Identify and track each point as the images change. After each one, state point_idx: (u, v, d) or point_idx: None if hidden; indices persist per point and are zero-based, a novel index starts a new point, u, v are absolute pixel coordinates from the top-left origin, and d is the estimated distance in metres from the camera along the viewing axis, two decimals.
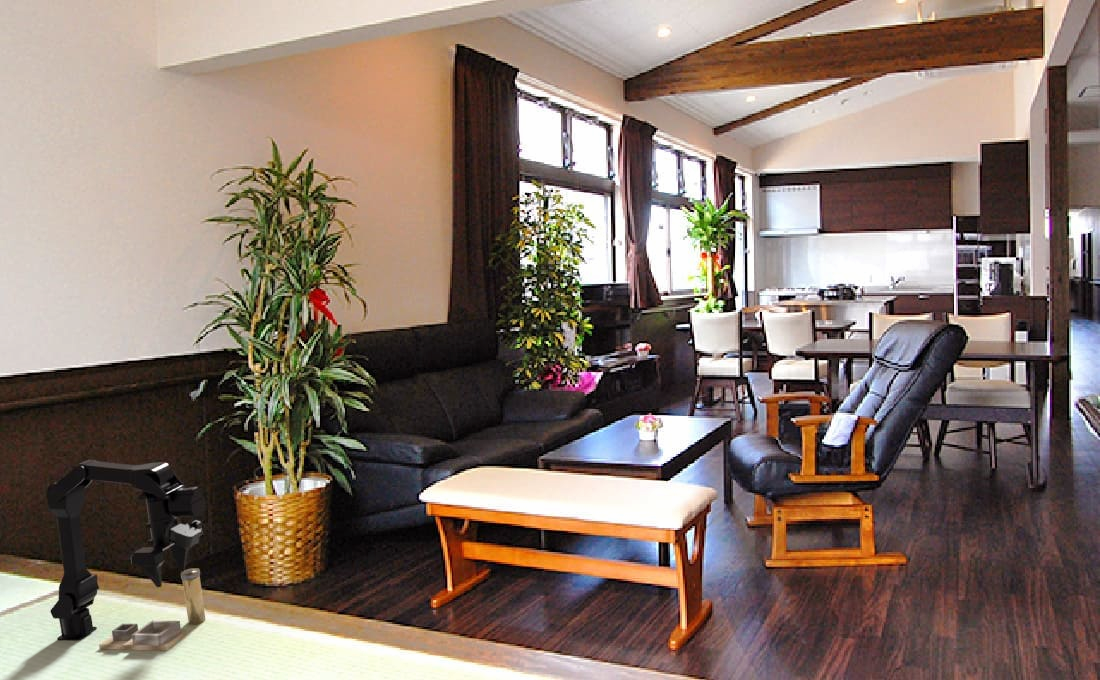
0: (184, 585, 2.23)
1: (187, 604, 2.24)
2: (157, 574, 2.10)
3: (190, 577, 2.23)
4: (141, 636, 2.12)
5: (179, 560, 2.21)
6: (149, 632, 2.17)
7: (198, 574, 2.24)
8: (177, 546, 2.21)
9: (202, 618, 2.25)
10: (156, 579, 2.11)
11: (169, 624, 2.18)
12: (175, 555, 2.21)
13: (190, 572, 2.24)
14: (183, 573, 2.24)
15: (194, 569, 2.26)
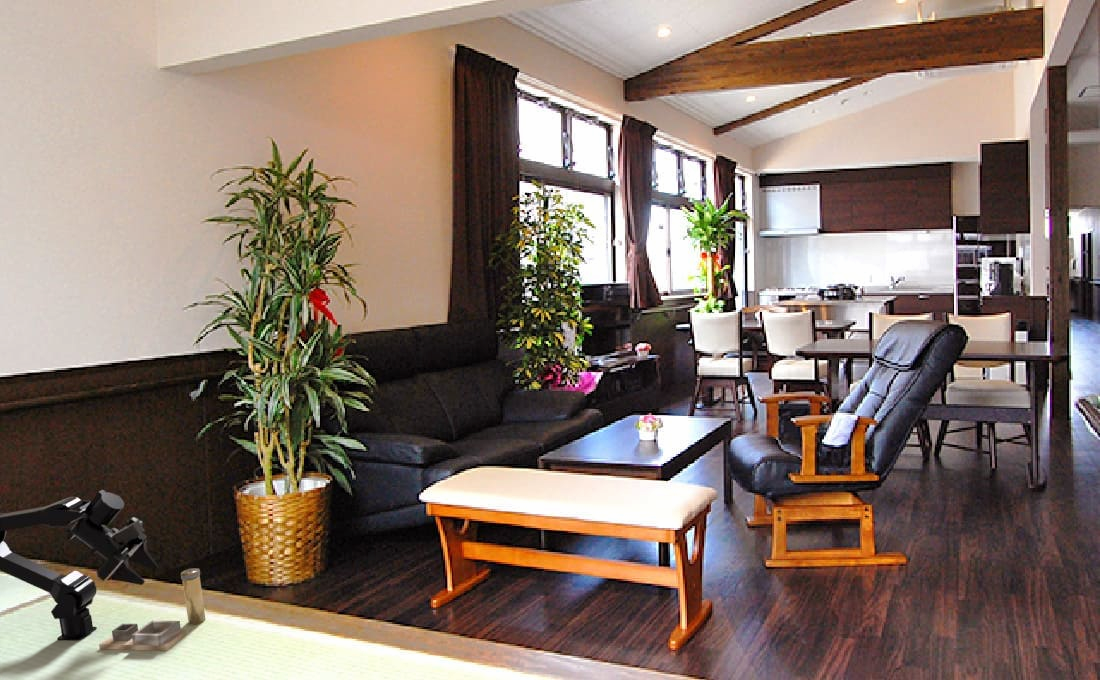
0: (184, 585, 2.23)
1: (187, 604, 2.24)
2: (132, 573, 2.17)
3: (190, 577, 2.23)
4: (141, 636, 2.12)
5: (147, 562, 2.27)
6: (149, 632, 2.17)
7: (198, 574, 2.24)
8: (135, 554, 2.27)
9: (202, 618, 2.25)
10: (135, 578, 2.17)
11: (169, 624, 2.18)
12: (140, 562, 2.27)
13: (190, 572, 2.24)
14: (183, 573, 2.24)
15: (194, 569, 2.26)
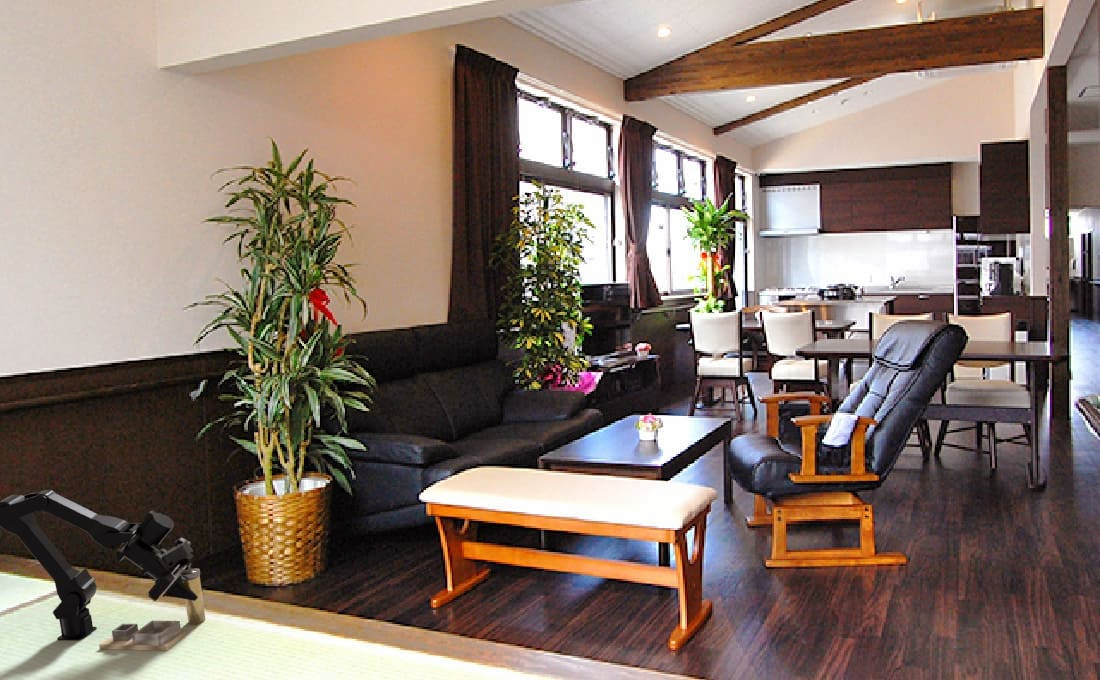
0: None
1: (187, 604, 2.24)
2: (185, 589, 2.22)
3: (190, 577, 2.23)
4: (141, 636, 2.12)
5: None
6: (149, 632, 2.17)
7: (198, 574, 2.24)
8: None
9: (202, 618, 2.25)
10: (188, 594, 2.22)
11: (169, 624, 2.18)
12: None
13: (190, 572, 2.24)
14: (183, 573, 2.24)
15: (194, 569, 2.26)
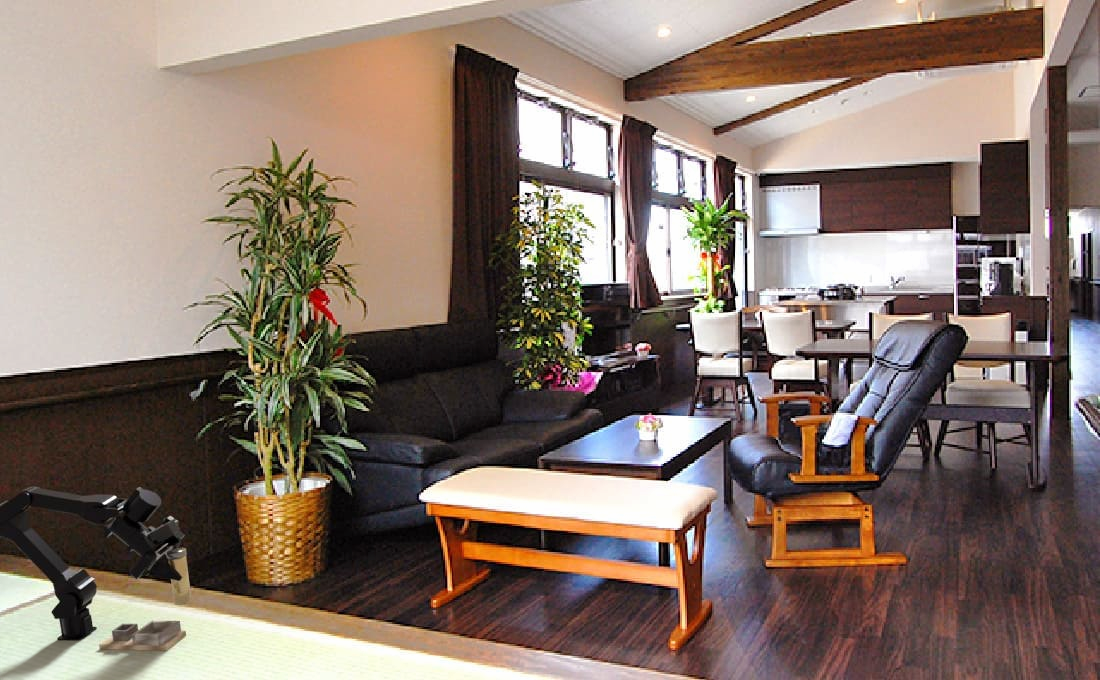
0: None
1: (172, 584, 2.20)
2: (169, 569, 2.17)
3: (175, 556, 2.18)
4: (141, 636, 2.12)
5: None
6: (149, 632, 2.17)
7: (184, 554, 2.20)
8: None
9: (187, 599, 2.21)
10: (172, 573, 2.18)
11: (169, 624, 2.18)
12: None
13: (176, 551, 2.20)
14: (169, 552, 2.20)
15: (181, 548, 2.22)
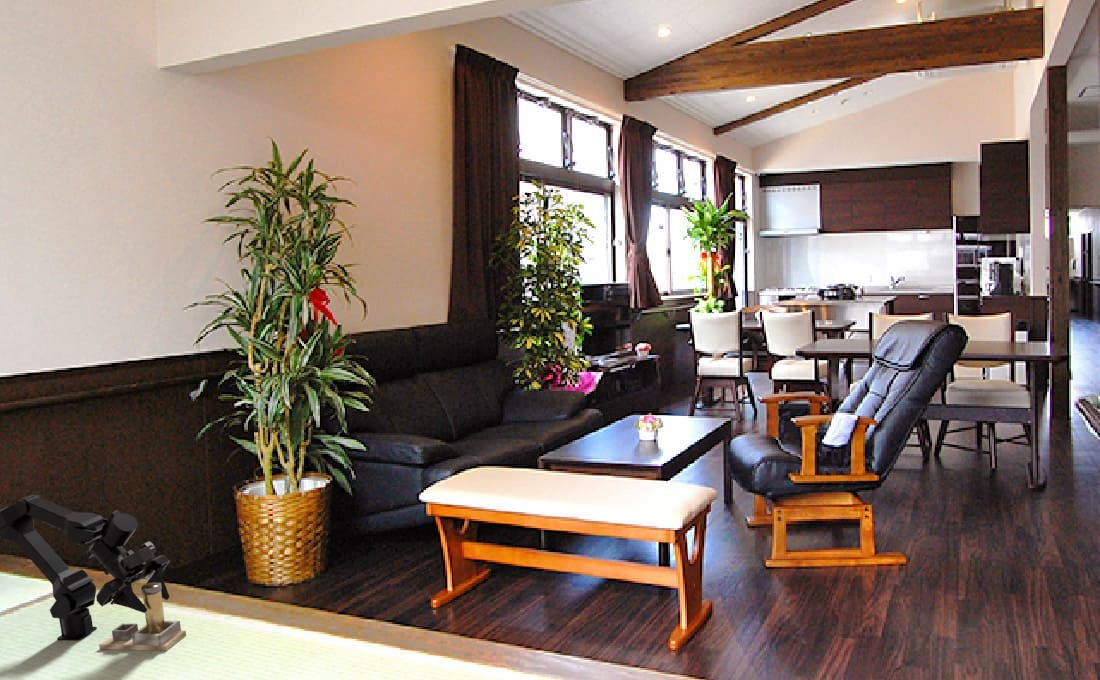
0: (143, 599, 2.13)
1: None
2: (133, 600, 2.10)
3: (147, 592, 2.12)
4: (141, 636, 2.12)
5: None
6: None
7: (156, 590, 2.13)
8: (151, 581, 2.19)
9: None
10: (137, 605, 2.10)
11: (169, 624, 2.18)
12: None
13: (150, 587, 2.13)
14: (144, 586, 2.13)
15: (158, 583, 2.15)
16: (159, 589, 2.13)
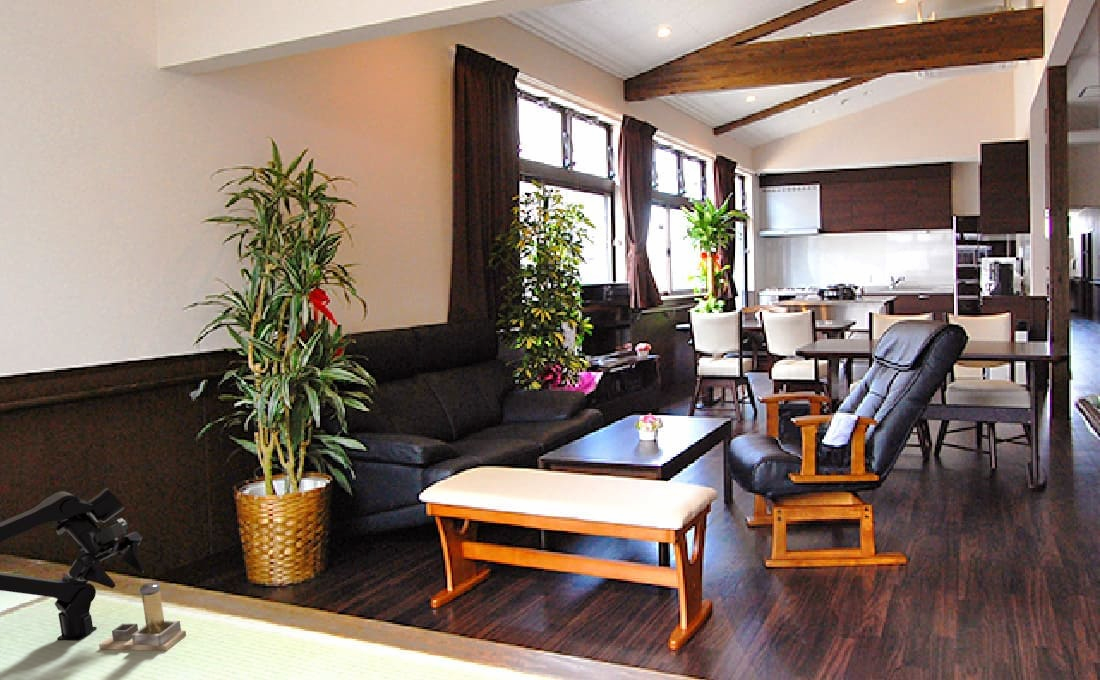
0: (142, 599, 2.13)
1: (145, 619, 2.14)
2: (102, 575, 2.16)
3: (145, 592, 2.12)
4: (141, 636, 2.12)
5: (135, 564, 2.26)
6: None
7: (155, 590, 2.13)
8: (127, 555, 2.27)
9: None
10: (105, 580, 2.16)
11: (169, 624, 2.18)
12: (130, 563, 2.27)
13: (149, 587, 2.13)
14: (142, 586, 2.14)
15: (157, 583, 2.15)
16: (158, 589, 2.13)
